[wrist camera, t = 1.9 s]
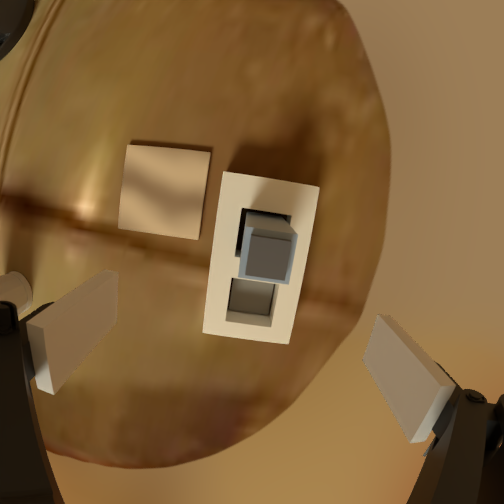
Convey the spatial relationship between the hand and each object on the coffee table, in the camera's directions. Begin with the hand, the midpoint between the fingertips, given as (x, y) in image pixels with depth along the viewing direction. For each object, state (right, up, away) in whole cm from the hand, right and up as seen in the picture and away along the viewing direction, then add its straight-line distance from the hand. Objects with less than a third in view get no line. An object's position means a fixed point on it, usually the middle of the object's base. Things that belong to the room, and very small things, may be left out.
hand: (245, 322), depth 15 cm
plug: (+1, +6, +22) cm, 22 cm away
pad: (-10, +10, +20) cm, 25 cm away
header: (+1, +3, +22) cm, 22 cm away
